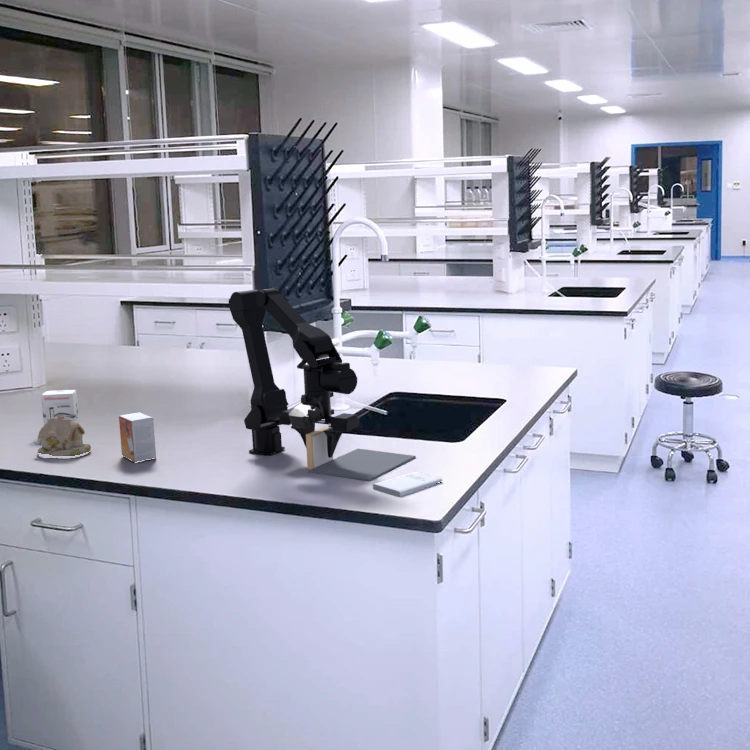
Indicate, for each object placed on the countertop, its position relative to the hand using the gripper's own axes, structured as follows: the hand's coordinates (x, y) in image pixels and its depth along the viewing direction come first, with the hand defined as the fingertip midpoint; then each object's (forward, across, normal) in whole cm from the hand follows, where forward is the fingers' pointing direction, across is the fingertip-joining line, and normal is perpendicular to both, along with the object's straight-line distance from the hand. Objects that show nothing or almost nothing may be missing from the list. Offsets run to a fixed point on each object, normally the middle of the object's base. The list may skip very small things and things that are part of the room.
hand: (320, 456), depth 205 cm
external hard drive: (+3, +26, -5) cm, 27 cm away
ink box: (+2, -83, -5) cm, 83 cm away
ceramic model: (+2, -65, -18) cm, 68 cm away
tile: (+2, 0, 0) cm, 2 cm away
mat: (+2, +9, +4) cm, 10 cm away
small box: (+2, -44, -14) cm, 46 cm away
